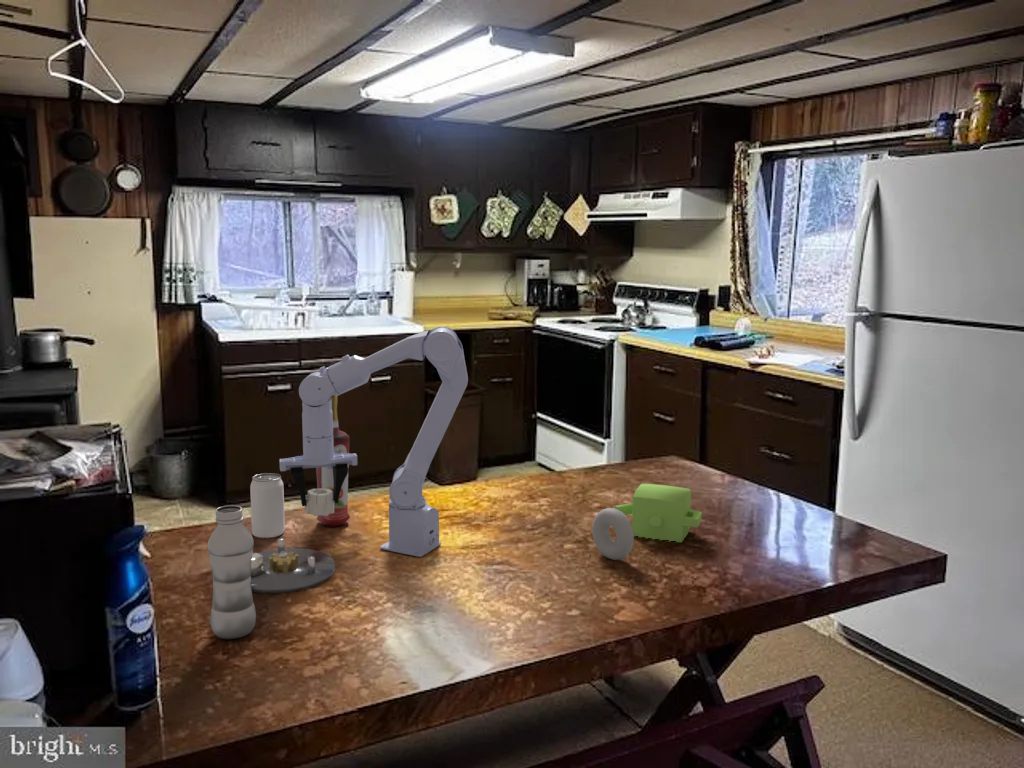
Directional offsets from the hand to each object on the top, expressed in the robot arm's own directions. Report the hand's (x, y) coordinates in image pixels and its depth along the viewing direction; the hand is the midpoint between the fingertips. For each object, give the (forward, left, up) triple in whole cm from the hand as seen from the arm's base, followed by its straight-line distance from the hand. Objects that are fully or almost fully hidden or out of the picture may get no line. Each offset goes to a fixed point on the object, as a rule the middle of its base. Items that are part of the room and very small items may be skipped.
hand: (319, 503), depth 159 cm
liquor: (+6, -12, -9) cm, 16 cm away
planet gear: (0, 0, -2) cm, 2 cm away
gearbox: (-57, -38, -9) cm, 69 cm away
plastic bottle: (-11, +35, -9) cm, 38 cm away
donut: (-53, -21, -9) cm, 58 cm away
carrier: (-1, +14, -9) cm, 17 cm away
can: (+14, -1, -9) cm, 17 cm away
